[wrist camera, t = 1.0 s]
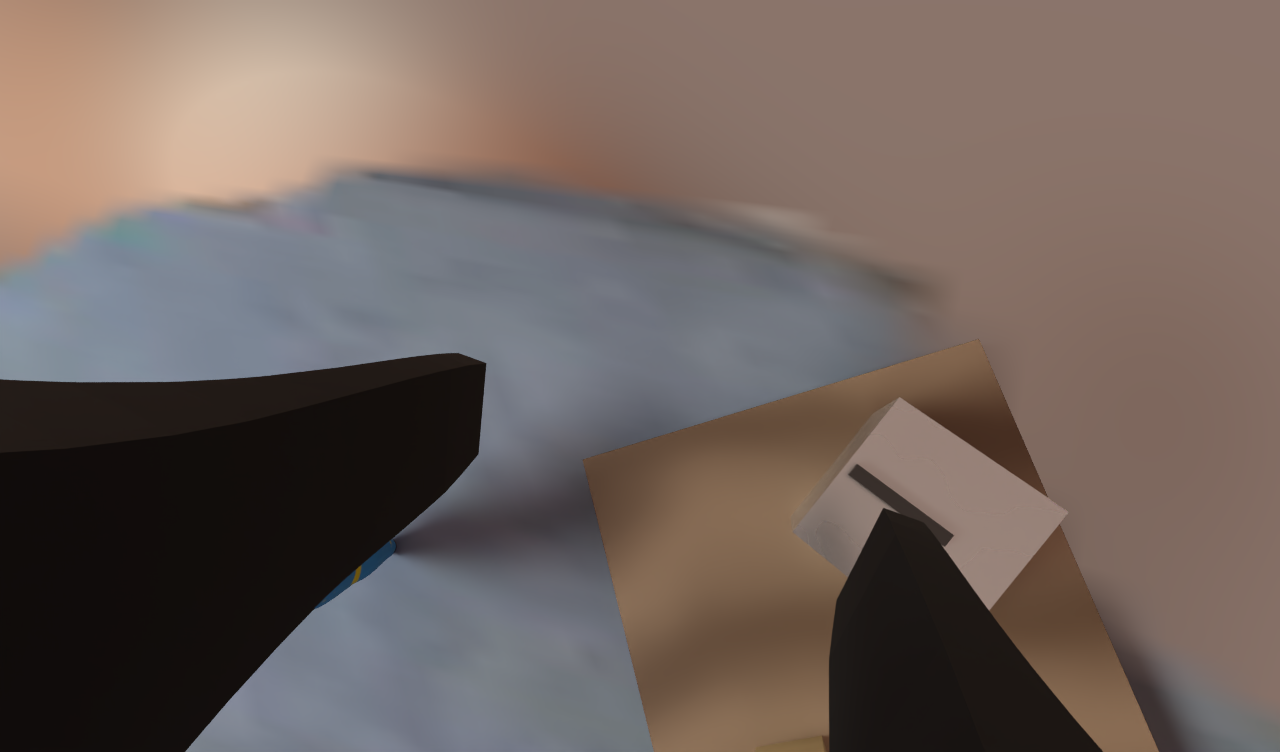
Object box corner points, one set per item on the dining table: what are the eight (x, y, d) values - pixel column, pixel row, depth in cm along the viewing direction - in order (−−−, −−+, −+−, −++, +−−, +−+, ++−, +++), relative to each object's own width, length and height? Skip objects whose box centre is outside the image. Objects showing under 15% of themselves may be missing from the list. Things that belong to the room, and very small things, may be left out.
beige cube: (997, 500, 19) (1074, 512, 14) (908, 611, 19) (952, 663, 14) (872, 413, 21) (901, 395, 16) (790, 517, 21) (792, 533, 16)
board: (1190, 869, 17) (1365, 1043, 12) (710, 925, 21) (685, 1082, 15) (965, 347, 22) (1024, 308, 16) (594, 459, 25) (542, 457, 19)
